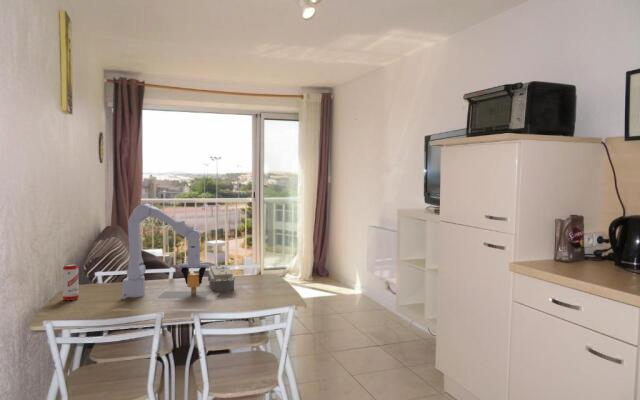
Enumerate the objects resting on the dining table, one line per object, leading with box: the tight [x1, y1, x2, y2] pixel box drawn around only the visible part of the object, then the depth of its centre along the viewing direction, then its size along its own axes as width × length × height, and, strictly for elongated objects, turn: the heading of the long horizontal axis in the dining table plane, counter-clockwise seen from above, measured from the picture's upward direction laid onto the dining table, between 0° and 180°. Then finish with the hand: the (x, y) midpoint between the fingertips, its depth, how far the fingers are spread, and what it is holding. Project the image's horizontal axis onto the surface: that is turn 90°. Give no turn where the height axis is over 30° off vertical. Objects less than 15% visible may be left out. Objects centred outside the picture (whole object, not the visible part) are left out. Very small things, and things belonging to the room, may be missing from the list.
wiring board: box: [157, 287, 211, 299], centre depth 211 cm, size 22×12×5 cm, turn 93°
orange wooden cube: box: [186, 272, 201, 288], centre depth 212 cm, size 6×6×6 cm
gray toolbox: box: [207, 264, 236, 293], centre depth 229 cm, size 12×28×10 cm, turn 20°
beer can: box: [62, 263, 80, 301], centre depth 204 cm, size 6×6×16 cm
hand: (193, 283), depth 212 cm, fingers closed on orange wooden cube, 6 cm apart
